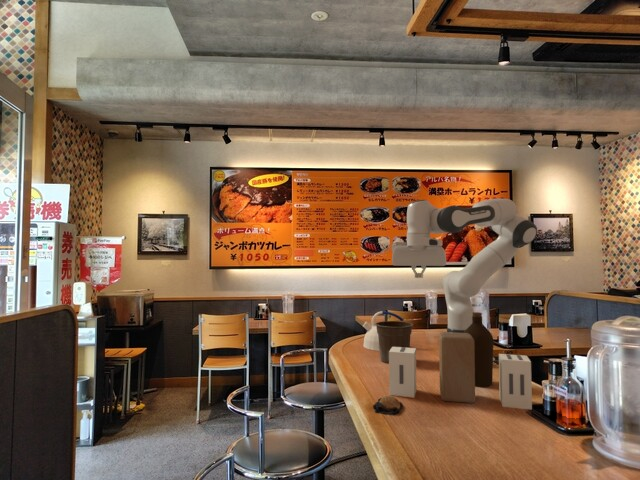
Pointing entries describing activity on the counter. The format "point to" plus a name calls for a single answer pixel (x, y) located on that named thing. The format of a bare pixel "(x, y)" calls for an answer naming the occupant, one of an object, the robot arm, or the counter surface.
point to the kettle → (374, 332)
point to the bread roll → (388, 406)
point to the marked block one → (402, 371)
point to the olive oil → (482, 351)
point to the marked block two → (515, 381)
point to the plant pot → (393, 336)
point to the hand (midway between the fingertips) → (418, 277)
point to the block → (457, 367)
